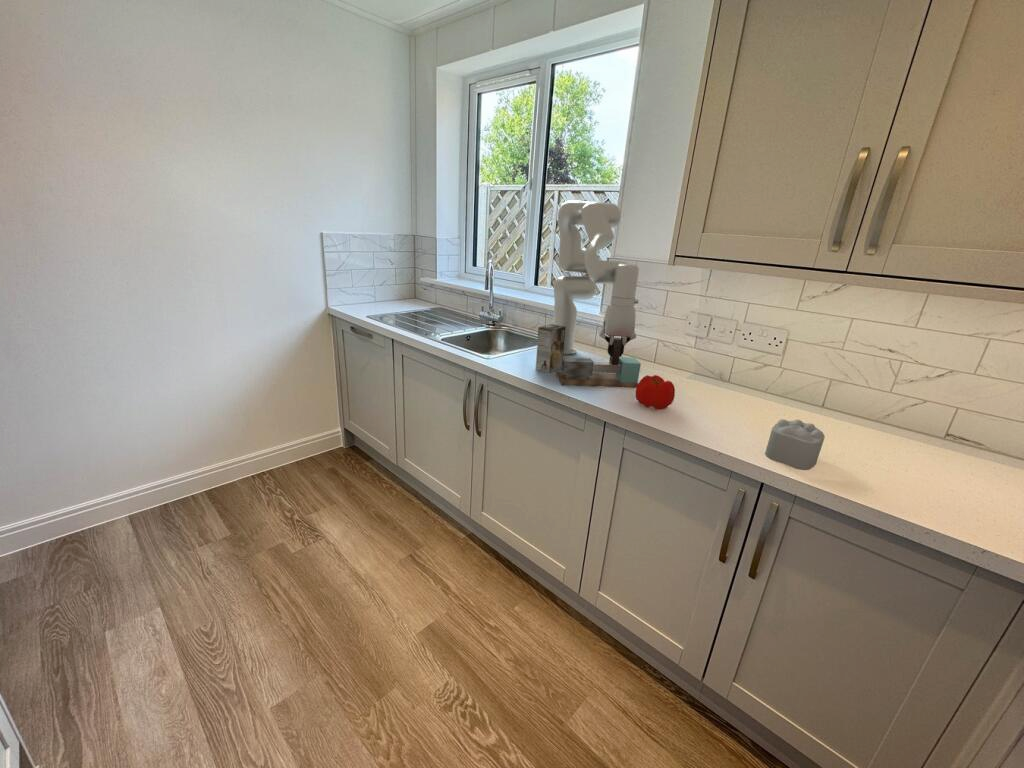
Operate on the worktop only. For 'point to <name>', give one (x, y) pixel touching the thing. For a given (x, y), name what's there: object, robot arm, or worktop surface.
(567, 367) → the sleeve base
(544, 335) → the coffee box
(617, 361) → the grey l-shaped piece
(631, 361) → the socket block
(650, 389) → the tomato
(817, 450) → the lumpy-topped squat cylinder
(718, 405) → the worktop surface
